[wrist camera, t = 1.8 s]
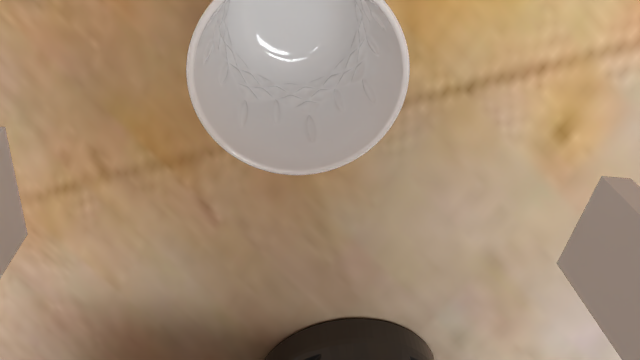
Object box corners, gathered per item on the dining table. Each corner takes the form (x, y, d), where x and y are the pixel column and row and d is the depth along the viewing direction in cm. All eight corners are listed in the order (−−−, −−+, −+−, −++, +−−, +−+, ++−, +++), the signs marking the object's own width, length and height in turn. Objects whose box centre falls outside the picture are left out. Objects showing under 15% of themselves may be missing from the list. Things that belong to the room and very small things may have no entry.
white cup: (181, 15, 26) (140, 94, 18) (280, -117, 24) (286, -96, 15) (298, 106, 30) (309, 209, 21) (397, 0, 27) (454, 70, 18)
